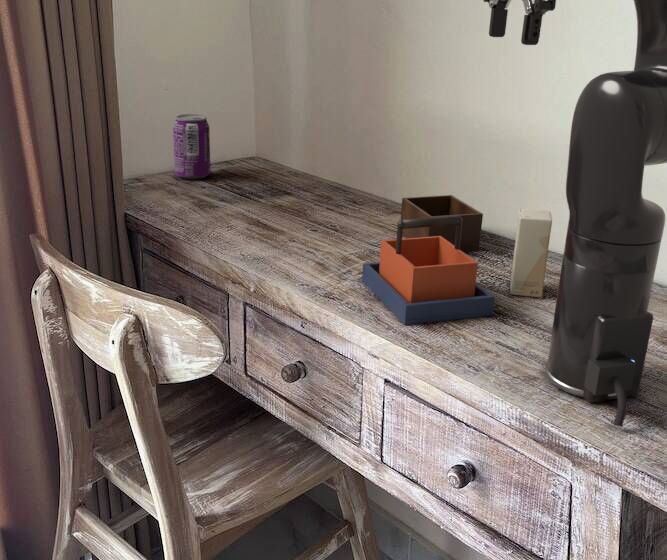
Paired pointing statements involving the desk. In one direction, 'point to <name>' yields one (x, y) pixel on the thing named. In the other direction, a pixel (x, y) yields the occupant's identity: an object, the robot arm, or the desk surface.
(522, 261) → the box
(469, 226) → the box
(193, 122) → the beverage can
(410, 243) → the top basket
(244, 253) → the desk surface
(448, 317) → the tray
